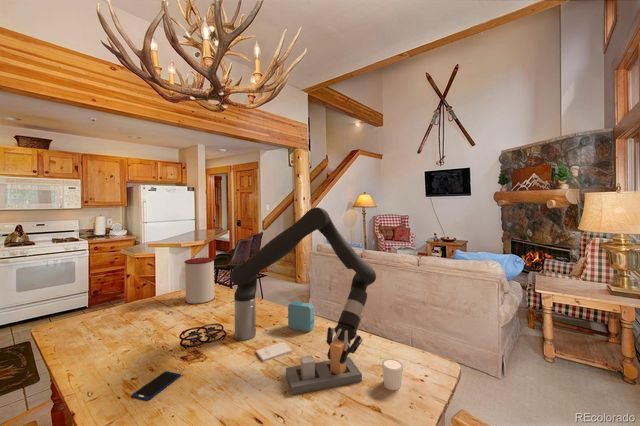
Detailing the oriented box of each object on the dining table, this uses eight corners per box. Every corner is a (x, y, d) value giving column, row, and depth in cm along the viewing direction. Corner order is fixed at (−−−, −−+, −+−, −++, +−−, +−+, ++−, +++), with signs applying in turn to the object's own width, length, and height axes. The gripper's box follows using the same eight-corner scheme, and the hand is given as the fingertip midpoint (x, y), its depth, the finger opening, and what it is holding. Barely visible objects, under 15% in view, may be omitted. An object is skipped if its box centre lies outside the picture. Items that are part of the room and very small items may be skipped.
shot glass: (379, 378, 97) (379, 358, 97) (398, 377, 97) (398, 357, 97) (385, 392, 90) (385, 370, 90) (406, 390, 91) (406, 369, 90)
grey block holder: (291, 395, 89) (291, 371, 89) (286, 374, 99) (285, 353, 99) (361, 381, 96) (361, 359, 95) (349, 363, 106) (349, 343, 106)
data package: (314, 328, 136) (314, 304, 135) (310, 332, 132) (310, 307, 131) (292, 324, 141) (292, 300, 140) (287, 328, 136) (287, 303, 136)
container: (178, 303, 170) (177, 262, 169) (196, 294, 187) (195, 257, 186) (205, 305, 167) (204, 263, 166) (220, 295, 184) (219, 257, 183)
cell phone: (129, 398, 88) (129, 395, 88) (165, 372, 102) (165, 370, 102) (147, 402, 86) (147, 400, 86) (182, 376, 100) (182, 373, 99)
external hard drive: (292, 353, 114) (263, 363, 108) (283, 345, 121) (255, 353, 114) (292, 349, 114) (262, 359, 108) (283, 341, 121) (255, 349, 114)
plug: (336, 366, 102) (336, 339, 101) (345, 370, 100) (345, 342, 99) (330, 372, 99) (330, 344, 98) (340, 376, 96) (340, 347, 96)
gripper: (331, 306, 108) (313, 351, 99) (365, 314, 101) (350, 363, 91) (338, 315, 113) (322, 358, 103) (371, 323, 105) (357, 371, 96)
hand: (335, 360), depth 97 cm, fingers open, 4 cm apart
